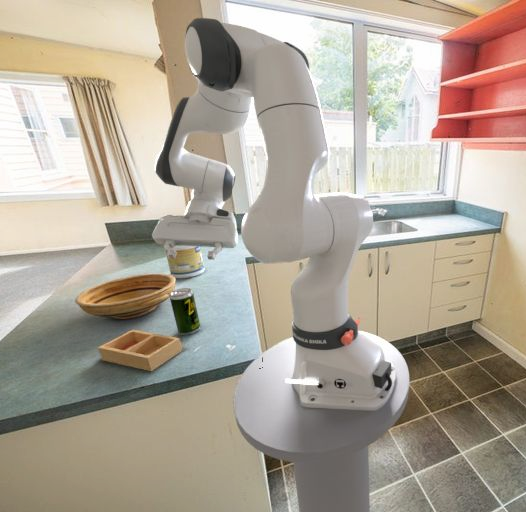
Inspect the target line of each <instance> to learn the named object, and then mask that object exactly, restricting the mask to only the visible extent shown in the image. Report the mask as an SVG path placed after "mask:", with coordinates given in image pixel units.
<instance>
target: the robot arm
mask: <svg viewBox="0 0 526 512" xmlns="http://www.w3.org/2000/svg"><path fill="white" fill-rule="evenodd" d="M185 30H186V31H185V35H184V52H185V58H186V60H187V64H188V67H189V71H190V72H191V74H192V75H193V77H194V78H195V79H196V80H197V87H196V91H195V93H194V94H193V95H192V96H187V97H186V96H185V97H182V98H181V99H180V100H179V101H178V103H177V105H176V107H175V109H174V112H173V114H172V118H171V120H170V122H169V126H168V129H167V132H166V135H165V138H164V141H163V145H162V148H161V151H159V152H158V155H157V156H156V159H155V164H154V171H155V175H157V177H158V178H159V179H160V180H161V181H162V183H164V184H165V185H169V186H174V187H179V188H180V187H181V188H185V189H188V190H192V191H191V199H190V200H189V202H188V204H187V206H186V209H185V212H184V215H178V214H177V215H174V214H166V215H165V216H161V217H159V219H158V222H157V224H156V226H155V227H154V229H153V231H152V233H151V237H152V239H153V241H154V242H155V243H156V244H157V245H159V246H164V245H166V246H167V249H168V252H167V256H166V258H167V257H168V258H176V255H177V253H176V252H175V250H172V248H174V247H175V245H176V246H197V247H200V248H213V249H212V250H208V252H207V260H208V261H209V260H210V261H211V260H213V261H215V260H216V257H217V255H218V254H219V253H221V252H222V250H223V249H235V248H236V247H237V246H238V242H239V241H238V240H239V233H238V229H237V228H238V227H237V220H236V216H235V215H234V212H232V211H229V210H226V209H223V207H224V206H225V203H226V201H228V200H229V199H230V198H232V195H233V190H234V189H233V188H234V186H235V182H236V174H235V172H234V171H233V169H232V168H231V166H230V165H229V164H227V163H225V162H222V161H219V160H215V159H212V158H208V157H206V156H202V155H199V154H196V153H192V152H191V151H188V150H186V149H185V148H184V147H185V144H186V142H187V139H188V136H189V135H191V134H195V133H204V134H205V133H207V134H217V135H230V134H233V133H237V132H239V131H241V130H242V129H244V128H245V127H246V125H247V123H248V121H249V119H250V116H251V113H252V110H253V106H254V111H255V115H256V119H257V123H258V127H259V131H260V136H261V142H262V146H263V151H264V158H265V177H264V182H263V185H262V189H261V191H260V194H259V195H258V197H257V199H256V200H255V201H254V203H252V205H250V207H249V208H248V209H247V210H246V212H245V214H244V215H243V218H242V221H241V226H240V235H241V239H242V243H243V246H244V247H245V249H246V250H247V252H248V253H249V254H250V255H251V256H252V257H253V258H254V259H255V260H256V261H258V262H260V263H262V264H265V265H268V264H269V265H271V264H286V263H294V262H298V261H301V260H305V259H308V260H307V262H306V264H305V266H304V267H303V269H302V270H300V272H299V273H298V274H297V275H296V276H295V278H294V279H293V281H292V283H291V286H290V299H291V307H292V321H291V328H292V329H291V331H292V337H293V339H294V341H295V344H296V355H295V367H294V372H293V376H292V379H286V380H285V382H286V383H292V384H293V387H294V389H295V390H296V391H297V392H298V394H299V396H300V404H301V405H302V406H303V407H310V408H329V409H348V410H367V411H376V410H378V409H379V408H381V407H382V406H383V405H384V404H385V403H386V402H387V400H388V399H389V397H390V396H391V394H392V391H393V389H394V385H395V381H396V370H395V366H394V364H393V362H391V361H388V360H385V356H384V353H383V350H382V348H381V347H380V346H379V345H378V344H376V343H375V342H374V341H372V340H371V339H369V338H368V337H367V336H365V335H364V334H362V333H361V332H360V331H361V330H359V329H358V328H359V327H358V326H359V325H360V324H361V323H360V322H361V320H360V318H361V317H360V316H359V317H358V318H357V319H356V320H354V319H353V318H352V315H351V313H350V311H349V282H350V277H351V272H352V268H353V265H354V262H355V259H356V256H357V254H358V252H359V249H360V247H361V246H362V245H363V242H364V241H365V240H366V238H367V237H368V236H369V235H370V234H371V232H372V230H373V226H374V214H373V211H372V208H371V206H370V204H369V202H368V201H367V200H366V199H365V198H364V197H362V196H361V195H358V194H354V193H353V194H352V193H346V192H331V193H320V194H315V189H314V181H315V176H316V174H318V173H319V172H320V171H321V170H322V169H323V168H324V167H325V166H326V165H327V163H328V161H329V159H330V157H331V156H330V155H331V151H330V146H329V141H328V140H329V139H328V136H327V132H326V127H325V123H324V117H323V112H322V109H321V104H320V100H319V97H318V92H317V89H316V86H315V84H314V80H313V77H312V74H311V67H310V63H309V60H308V58H307V57H308V56H306V54H305V53H304V52H303V50H302V49H300V48H299V47H297V46H295V45H293V44H292V43H289V42H287V41H281V40H279V39H277V38H275V37H272V36H270V35H268V34H265V33H262V32H260V31H257V30H256V29H252V28H249V27H246V26H241V25H238V24H232V23H228V22H221V21H220V20H218V19H215V18H207V17H196V18H194V19H192V20H191V22H190V23H189V24H188V25H187V27H186V29H185ZM358 330H359V331H358ZM381 398H382V399H381Z"/></svg>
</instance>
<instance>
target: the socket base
mask: <svg viewBox="0 0 526 512" xmlns="http://www.w3.org/2000/svg"><path fill="white" fill-rule="evenodd" d="M97 349H98V352H99V356H100V358H101V360H102V361H103V362H104V361H105V362H109V363H113V364H118V365H123V366H126V367H131V368H135V369H140V370H144V371H148V372H152V371H154V370H156V369H157V368H159V367H160V366H162V365H163V364H164V363H166V362H167V361H170V360H171V359H173V358H174V357H175V356H176V355H179V354H180V353H181V352H182V351H183V347H182V342H181V338H180V337H174V336H169V335H165V334H164V335H163V334H160V333H159V334H158V333H153V332H148V331H142V330H137V329H131V330H129V331H127V332H125V333H124V334H121V335H119V336H118V337H115V338H114V339H112V340H110V341H108V342H106V343H104V344H102V345H100V346H98V347H97Z"/></svg>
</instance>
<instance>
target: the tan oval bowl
mask: <svg viewBox="0 0 526 512" xmlns="http://www.w3.org/2000/svg"><path fill="white" fill-rule="evenodd" d="M176 280H177V278H174V277H173V276H171V274H166V273H146V274H145V273H144V274H138V275H131V276H125V277H121V278H116V279H113V280H109V281H106V282H103V283H99V284H96V285H94V286H92V287H90V288H88V289H86V290H83V291H82V292H81V293H79V294H78V295H77V296H76V297H75V298H74V303H75V304H76V305H78V307H79V308H80V309H81V310H82V311H83V312H85V313H86V314H88V315H91V316H93V317H99V318H114V319H117V320H126V319H127V320H128V319H133V318H137V317H141V316H143V315H146V314H149V313H150V312H152V311H154V310H155V309H156V308H157V307H158V306H159V305H161V304H163V303H164V302H165V301H167V300H168V299H170V293H171V292H173V291H175V287H176Z"/></svg>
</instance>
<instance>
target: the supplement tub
mask: <svg viewBox="0 0 526 512" xmlns="http://www.w3.org/2000/svg"><path fill="white" fill-rule="evenodd" d="M163 247H164V248H163V249H164V252H165V256H166V260H167V263H168V268H169V273H170V274H169V275H171V276H173V277H174V278H175V279H188V278H193V277H196V276H199V275H201V274H203V273H204V272H205V269H206V268H205V264H204V259H203V253H202V247H197V246H176V245H175V247H174V248H172V250H175V252H176V253H177V255H176V258H168V257H167V252H168V249H167V246H166V245H163Z"/></svg>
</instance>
